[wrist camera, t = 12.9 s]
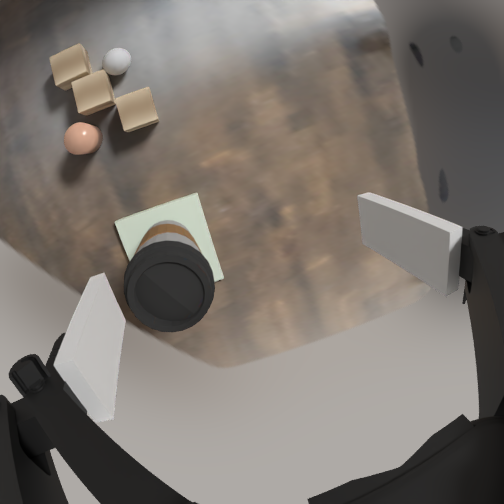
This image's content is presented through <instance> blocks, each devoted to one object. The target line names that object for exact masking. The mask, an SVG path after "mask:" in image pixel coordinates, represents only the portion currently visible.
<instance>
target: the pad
mask: <svg viewBox="0 0 504 504" xmlns="http://www.w3.org/2000/svg"><path fill="white" fill-rule="evenodd" d="M164 220H172V221H176V222H179V223H181V224H182V225H184V226H185V227H186V228H187V229H188V230H189V232H190V233H191V235H192V236H193V237H194V239H195V241H196V243H197V245H198V246H199V248H200V250H201V253H202V255H203V256H204V257H205V258H206V259H207V260H208V262H209V264H210V266H211V269H212V271H213V276H214V282H215V281H218V280H221V279H224V277H223V274H222V270H221V267H220V264H219V261H218V258H217V255H216V252H215V249H214V246H213V242H212V239H211V236H210V233H209V230H208V227H207V223H206V220H205V217H204V214H203V210H202V207H201V204H200V201H199V197H198V194H197V193H194V194H191V195H187V196H184V197H181V198H178V199H175V200H172V201H170V202H167V203H164V204H161V205H158V206H155V207H152V208H149V209H146V210H144V211H141V212H138V213H135V214H132V215H130V216H127V217H124V218H122V219H119V220H116V221H115V225H116V227H117V230H118V233H119V235H120V238H121V241H122V243H123V246H124V248H125V251H126V253H127V256H128V258H129V261H131V259H132V258H133V256H134V254H135V252H136V250H137V248H138V246H139V244H140V242H141V240H142V238H143V237H144V235H145V234H146V232H147V231H148V229H149V228H150V227H151V226H153V225H154V224H156V223H158V222H160V221H164Z"/></svg>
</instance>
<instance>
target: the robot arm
mask: <svg viewBox="0 0 504 504" xmlns="http://www.w3.org/2000/svg"><path fill="white" fill-rule="evenodd" d="M357 197H358V205H359V214H360V223H361V233H362V244H364V245H366V246H367V247H369V248H370V249H372V250H374V251H375V252H377V253H379V254H380V255H382V256H384V257H385V258H387V259H388V260H390V261H392V262H393V263H395V264H396V265H398V266H400V267H401V268H403V269H404V270H406V271H408V272H409V273H411V274H412V275H414V276H415V277H417V278H419V279H420V280H422V281H423V282H425V283H426V284H428V285H429V286H431V287H432V288H434V289H435V290H437V291H438V292H440V293H441V294H443V295H445V296H448V295H450V294H451V293H453V292H455V291H457V290H458V285H459V276H460V277H462V278H464V279H465V280H466V281H465V289H464V297H463V304H465V301H466V300H467V303H468V309H469V314H470V320H471V327H472V333H473V340H474V348H475V357H476V365H477V378H478V392H479V419H477V420H473V421H471V422H470V421H469V420H468V419H467V418H466V417H465V416H464V415H463V414H462V415H461V416H459V417H458V418H457V419H455V420H454V421H452V422H451V423H450V424H448V425H447V426H446V427H444V428H442V429H441V430H440V431H438V432H437V433H435V434H434V435H432V436H431V437H430V438H429V439H428V440H427V441H426V442H425V443H424V444H423V446H421V447H420V448H419V449H418V450H417V451H416V452H415V454H414V455H413V456H411V458H409V459H408V460H407V461H406V462H405V463H404V464H403V465H402V466H400V467H398V468H396V469H393V470H389V471H386V472H383V473H379V474H375V475H372V476H368V477H364V478H360V479H356V480H352V481H349V482H347V483H345V484H343V485H341V486H338V487H336V488H334V489H331V490H329V491H327V492H324V493H322V494H319V495H317V496H314V497H312V498H309V499H308V502H309V504H504V232H503V233H498V232H497V231H496V230H495V229H493V228H490V227H487V226H475V227H473V228H471V229H470V230H467V229H465V228H462V227H461V226H459V225H456V224H453V223H451V222H448V221H446V220H444V219H441V218H439V217H436V216H433V215H431V214H428V213H426V212H423V211H420V210H418V209H415V208H412V207H410V206H407V205H404V204H401V203H399V202H396V201H393V200H390V199H387V198H384V197H382V196H379V195H376V194H373V193H370V192H368V193H365V194H361V195H357ZM125 323H126V320H125V318H124V316H123V313H122V311H121V309H120V307H119V305H118V303H117V301H116V298H115V296H114V294H113V292H112V289H111V287H110V285H109V283H108V280H107V278H106V276H105V273H102V274H99V275H96V276H93V277H90V279H89V281H88V284H87V286H86V288H85V290H84V292H83V294H82V297H81V299H80V301H79V303H78V306H77V308H76V310H75V312H74V315H73V317H72V319H71V322H70V324H69V327H68V329H67V332H66V333H63V334H62V335H61V336H60V337H59V338H58V339H57V340H56V342H55V343H54V346H53V348H52V351H51V353H50V356H49V357H50V358H48V361H47V363H46V366H45V365H44V364H43V362H42V361H41V359H40V358H39V356H37V355H36V354H30V355H27V356H25V357H23V358H21V359H20V360H18V361H17V362H16V363H15V364H14V365H13V366H12V368H11V369H10V372H9V378H10V380H11V381H12V382H13V384H14V385H15V387H16V388H17V389H18V391H19V392H20V393H21V394H22V395H23V397H24V398H22V399H20V400H18V401H16V402H13V403H10V402H9V401H8V400H7V398H6V397H5V396H3V395H0V504H68V501H67V499H66V496H65V493H64V491H63V489H62V486H61V483H60V480H59V477H58V474H57V471H56V469H55V466H54V462H53V459H52V456H51V453H50V450H51V449H53V448H56V449H57V450H58V452H59V453H60V454H61V456H62V457H63V459H64V460H65V461H66V463H67V464H68V465H69V466H70V468H71V469H72V470H73V471H74V473H75V474H76V475H77V477H78V478H79V479H80V480H81V481H82V483H83V484H84V485H85V486H86V487H87V489H88V490H89V491H90V492H91V493H92V494H93V496H94V497H95V498H96V499H97V500H98V501H99V502H100V503H101V504H197V503H196V502H191V501H189V500H187V499H186V498H185V497H183V496H182V495H180V494H179V493H177V492H176V491H175V490H173V489H172V488H171V487H169V486H168V485H167V484H165V483H164V482H162V481H161V480H160V479H159V478H157V477H156V476H155V475H153V474H152V473H151V472H149V471H148V470H147V469H146V468H145V467H143V466H142V465H141V464H140V463H138V462H137V461H136V460H135V459H134V458H133V457H131V456H130V455H129V454H128V453H127V452H126V451H124V450H123V449H122V448H121V447H120V446H119V445H118V444H117V443H115V442H114V441H113V440H112V439H111V438H110V437H109V436H108V435H107V434H106V433H105V432H104V431H103V430H101V428H100V427H99V426H97V425H96V424H95V423H94V422H93V421H92V420H91V419H90V418H89V417H88V416H87V412H88V414H89V415H90V416H91V417H92V419H93V420H94V421H95V422H101V421H106V420H112V419H114V412H115V400H116V390H117V381H118V373H119V365H120V357H121V348H122V342H123V335H124V329H125Z"/></svg>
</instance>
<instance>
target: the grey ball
mask: <svg viewBox="0 0 504 504" xmlns="http://www.w3.org/2000/svg"><path fill="white" fill-rule="evenodd" d="M130 64H131V56H130V54H129V53H128V51H126V50H125V49H122V48H115V49H112V50H110V51H109V52H108V53H107V54H106V55H105V56H104V58H103V68H104V70H105V71H106V72H107V73H108V74H110V75H120V74H122V73H124V72H125V71H126V70H127V69H128V68H129V66H130Z"/></svg>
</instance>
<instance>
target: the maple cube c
mask: <svg viewBox="0 0 504 504" xmlns="http://www.w3.org/2000/svg"><path fill="white" fill-rule="evenodd" d="M115 101H116V104H117V108H118V112H119V115H120V119H121V122H122V125H123V129H124V131H126V132H128V133H129V132H131V131H134V130H137V129H139V128H142V127H145V126H148V125H151V124H154V123H157V122H159V119H158V116H157V112H156V109H155V105H154V102H153V98H152V95H151V92H150V89H149V87H146V88H143V89H140V90H137V91H134V92H132V93H129V94H126V95H123V96H121V97H118V98H115Z"/></svg>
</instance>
